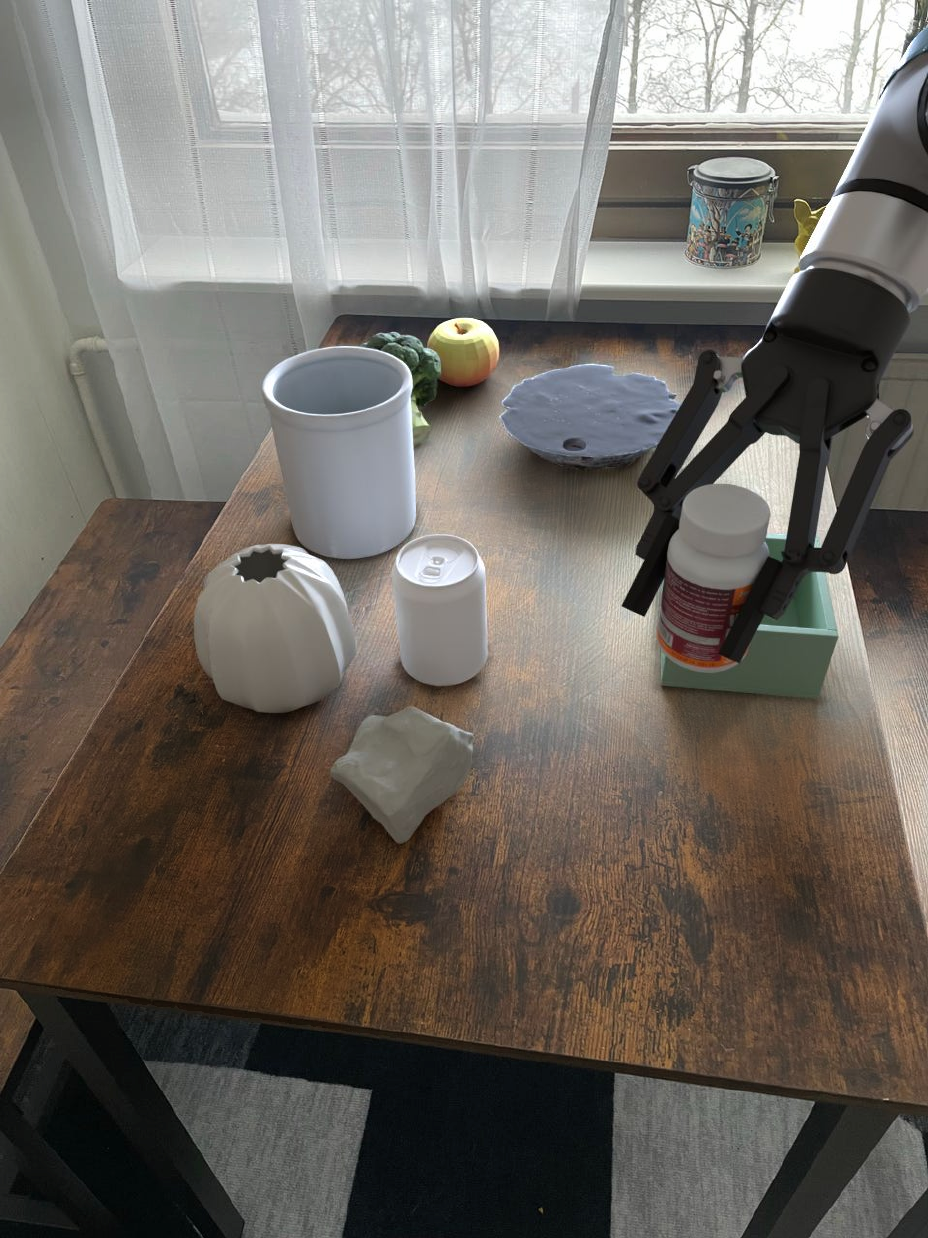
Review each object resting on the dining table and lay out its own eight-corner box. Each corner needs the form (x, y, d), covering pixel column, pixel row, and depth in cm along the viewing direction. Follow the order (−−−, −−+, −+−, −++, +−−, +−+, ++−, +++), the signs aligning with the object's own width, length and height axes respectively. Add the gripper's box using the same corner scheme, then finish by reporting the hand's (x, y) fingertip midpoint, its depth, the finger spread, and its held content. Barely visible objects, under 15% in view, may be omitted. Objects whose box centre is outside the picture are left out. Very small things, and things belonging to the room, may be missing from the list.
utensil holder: (357, 469, 111) (338, 331, 99) (450, 514, 103) (442, 371, 91) (262, 528, 103) (230, 385, 91) (356, 581, 95) (333, 433, 83)
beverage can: (498, 638, 88) (496, 538, 80) (473, 698, 83) (468, 598, 74) (418, 623, 90) (408, 524, 82) (388, 681, 85) (375, 581, 76)
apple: (414, 376, 127) (409, 320, 122) (470, 354, 131) (468, 299, 126) (457, 403, 121) (454, 346, 116) (514, 379, 125) (514, 323, 120)
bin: (818, 699, 81) (838, 636, 76) (660, 685, 83) (670, 623, 78) (801, 597, 91) (818, 536, 86) (660, 587, 93) (669, 526, 88)
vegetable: (347, 451, 110) (312, 351, 114) (407, 478, 120) (374, 386, 125) (426, 395, 105) (386, 293, 109) (482, 429, 115) (444, 335, 120)
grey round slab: (593, 517, 102) (595, 478, 98) (463, 441, 114) (461, 404, 111) (717, 442, 112) (724, 404, 109) (585, 380, 125) (587, 344, 121)
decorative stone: (374, 706, 80) (432, 660, 73) (446, 781, 81) (511, 742, 73) (296, 790, 73) (353, 747, 65) (377, 871, 73) (442, 838, 66)
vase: (365, 720, 81) (347, 607, 72) (206, 741, 80) (166, 629, 71) (356, 616, 91) (339, 505, 82) (215, 634, 90) (181, 523, 81)
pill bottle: (734, 687, 59) (767, 550, 52) (642, 659, 62) (661, 523, 54) (757, 627, 63) (790, 491, 56) (670, 603, 66) (691, 469, 58)
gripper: (1018, 361, 54) (833, 709, 57) (725, 283, 64) (577, 583, 66) (1022, 306, 48) (814, 701, 50) (696, 229, 57) (533, 563, 60)
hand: (679, 633), depth 58 cm, fingers closed on pill bottle, 6 cm apart
